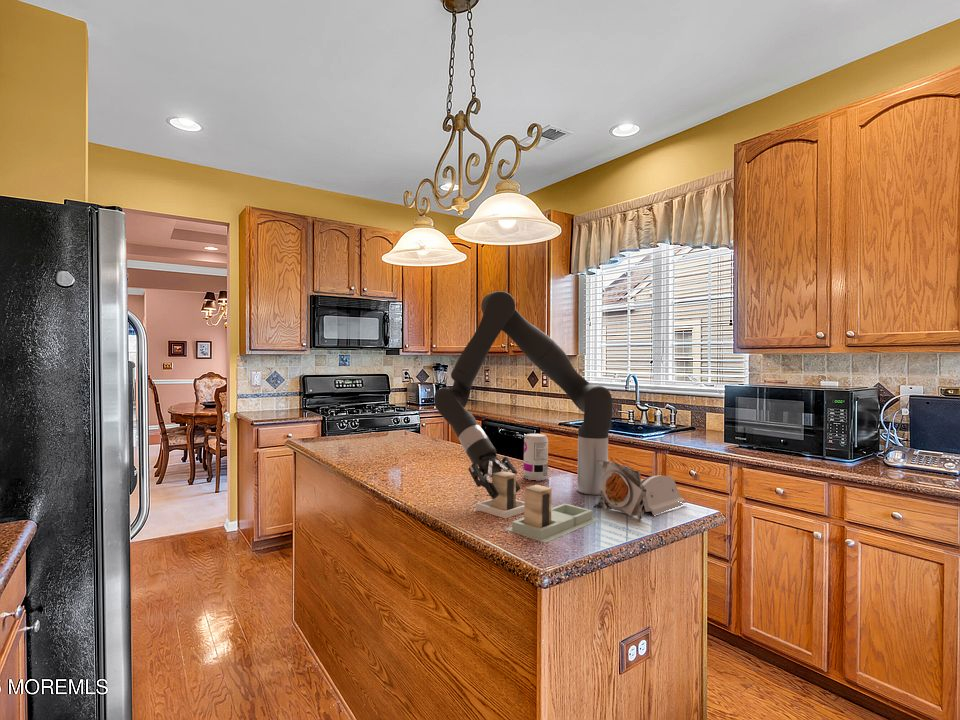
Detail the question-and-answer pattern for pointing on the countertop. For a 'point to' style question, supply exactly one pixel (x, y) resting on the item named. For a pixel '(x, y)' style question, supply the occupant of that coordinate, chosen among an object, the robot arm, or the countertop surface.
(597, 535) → the countertop surface
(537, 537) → the green slotted tray
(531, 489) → the block
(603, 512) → the countertop surface
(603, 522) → the countertop surface
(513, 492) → the block
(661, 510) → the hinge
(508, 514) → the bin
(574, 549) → the countertop surface
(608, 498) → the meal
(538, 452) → the supplement can
